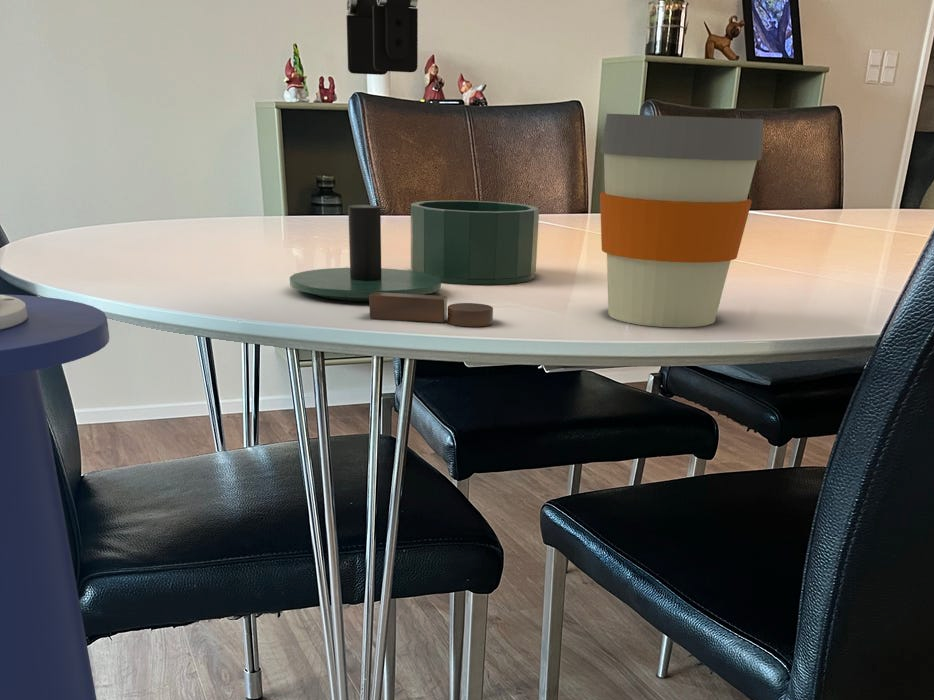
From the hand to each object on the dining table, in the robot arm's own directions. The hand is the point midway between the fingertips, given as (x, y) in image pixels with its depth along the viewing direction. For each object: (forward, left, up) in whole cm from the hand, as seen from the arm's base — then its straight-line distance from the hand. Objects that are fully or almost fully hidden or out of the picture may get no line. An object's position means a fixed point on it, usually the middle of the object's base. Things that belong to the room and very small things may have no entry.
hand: (381, 72), depth 77 cm
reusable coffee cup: (+16, -17, -18) cm, 29 cm away
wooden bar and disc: (-1, -8, -17) cm, 19 cm away
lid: (+2, +6, -17) cm, 18 cm away
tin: (+18, +9, -17) cm, 27 cm away
